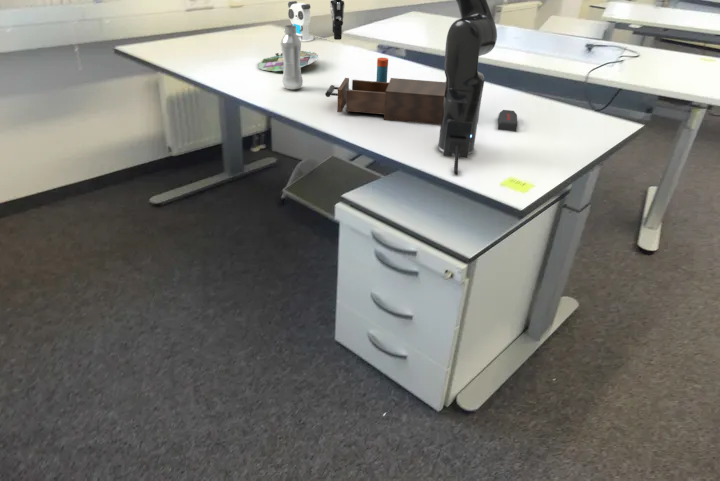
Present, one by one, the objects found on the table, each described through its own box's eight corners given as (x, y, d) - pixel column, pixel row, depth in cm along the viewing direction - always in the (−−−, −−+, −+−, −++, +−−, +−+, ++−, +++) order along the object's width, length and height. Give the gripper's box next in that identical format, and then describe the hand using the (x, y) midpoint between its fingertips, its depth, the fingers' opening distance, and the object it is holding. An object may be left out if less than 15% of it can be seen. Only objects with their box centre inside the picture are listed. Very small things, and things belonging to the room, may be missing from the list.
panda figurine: (282, 37, 245) (280, 1, 237) (302, 34, 251) (301, -1, 243) (298, 42, 238) (297, 6, 229) (318, 39, 244) (318, 3, 236)
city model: (253, 63, 214) (250, 48, 211) (311, 53, 219) (309, 38, 216) (264, 83, 195) (261, 66, 191) (327, 71, 200) (325, 55, 196)
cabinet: (383, 119, 161) (385, 91, 156) (389, 104, 172) (390, 77, 168) (446, 125, 159) (450, 96, 154) (447, 109, 170) (451, 82, 165)
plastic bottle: (303, 91, 181) (302, 28, 170) (283, 91, 180) (280, 28, 169) (302, 85, 186) (300, 24, 175) (282, 86, 185) (279, 24, 174)
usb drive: (497, 129, 157) (499, 120, 156) (498, 115, 167) (499, 107, 165) (516, 131, 156) (518, 122, 155) (515, 117, 166) (517, 109, 165)
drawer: (323, 110, 163) (323, 88, 159) (331, 98, 173) (331, 76, 170) (395, 117, 161) (396, 94, 157) (399, 103, 171) (401, 82, 167)
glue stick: (385, 98, 178) (387, 60, 171) (374, 97, 178) (376, 59, 172) (386, 94, 181) (388, 58, 174) (376, 93, 181) (378, 57, 175)
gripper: (323, -28, 159) (323, 30, 168) (325, -21, 147) (325, 41, 156) (348, -27, 160) (347, 31, 168) (352, -20, 148) (351, 41, 157)
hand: (336, 35), depth 162 cm, fingers open, 8 cm apart
